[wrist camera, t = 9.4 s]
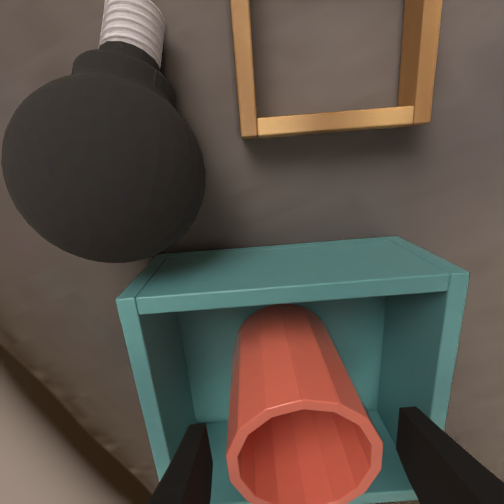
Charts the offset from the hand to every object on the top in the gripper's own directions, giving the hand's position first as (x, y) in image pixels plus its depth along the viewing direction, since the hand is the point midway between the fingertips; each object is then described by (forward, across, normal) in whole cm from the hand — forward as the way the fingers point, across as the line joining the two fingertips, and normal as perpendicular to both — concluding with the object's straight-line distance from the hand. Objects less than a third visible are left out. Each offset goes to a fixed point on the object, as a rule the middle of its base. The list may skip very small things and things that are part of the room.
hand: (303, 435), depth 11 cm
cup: (+6, 0, 0) cm, 6 cm away
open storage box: (+6, 0, 0) cm, 6 cm away
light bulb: (+6, +6, -11) cm, 14 cm away
